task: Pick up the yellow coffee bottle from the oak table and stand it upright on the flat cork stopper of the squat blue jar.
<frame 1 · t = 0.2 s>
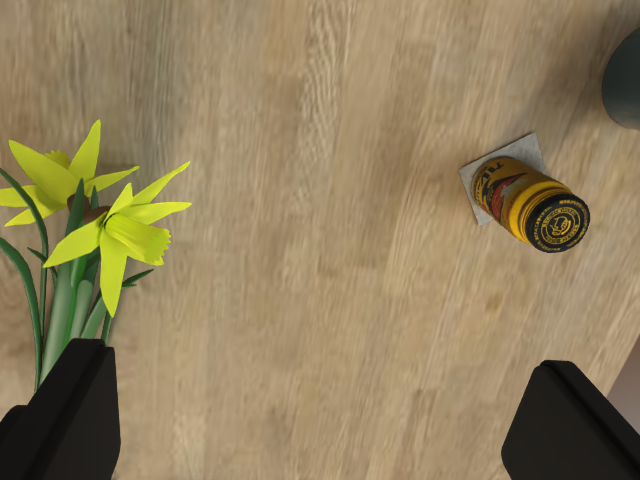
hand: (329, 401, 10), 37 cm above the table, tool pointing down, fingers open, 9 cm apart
yellow coffee bottle: (504, 180, 48), on the table
daffodil flowers: (109, 261, 48), on the table
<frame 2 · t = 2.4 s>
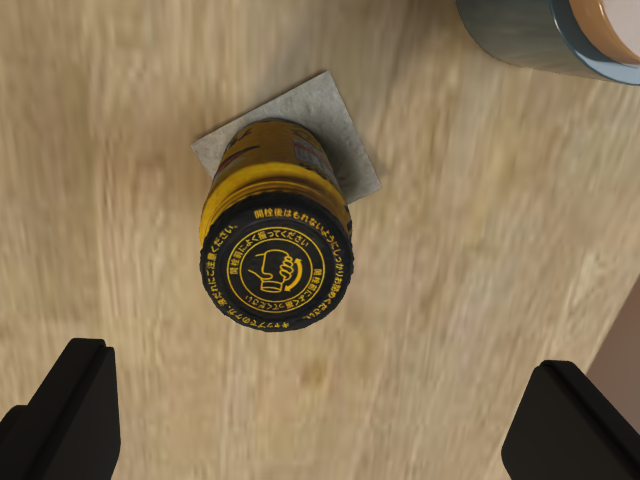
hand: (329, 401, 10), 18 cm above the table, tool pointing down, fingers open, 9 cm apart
yellow coffee bottle: (289, 164, 26), on the table
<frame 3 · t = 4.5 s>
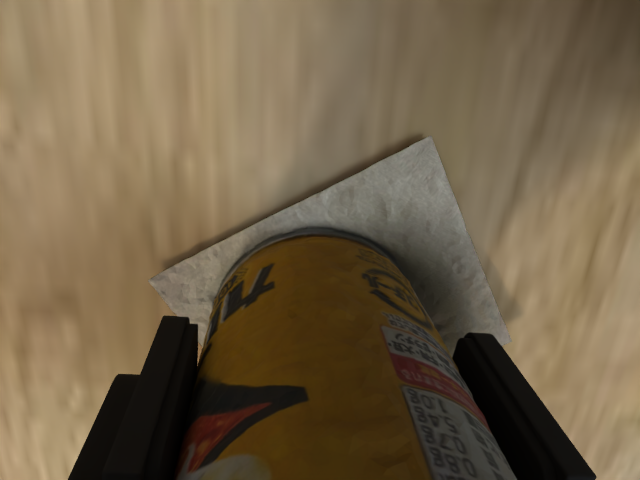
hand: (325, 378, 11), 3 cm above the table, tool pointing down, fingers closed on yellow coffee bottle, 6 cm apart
yellow coffee bottle: (340, 304, 14), on the table, touching gripper
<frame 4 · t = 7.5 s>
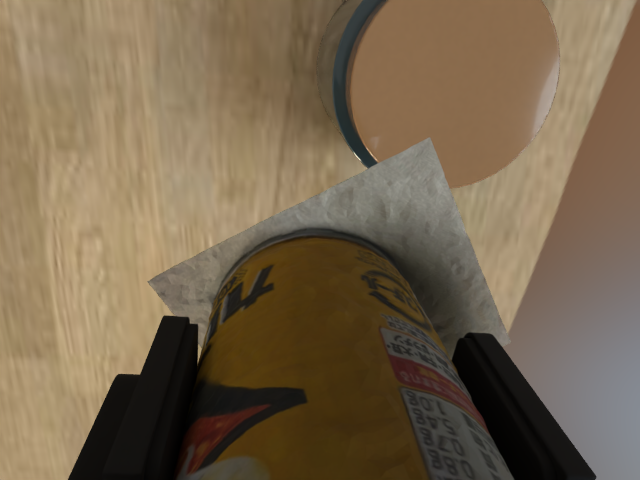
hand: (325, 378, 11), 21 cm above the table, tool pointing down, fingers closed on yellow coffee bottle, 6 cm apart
blue jar: (398, 70, 28), on the table
yellow coffee bottle: (340, 305, 14), point 18 cm above the table, touching gripper
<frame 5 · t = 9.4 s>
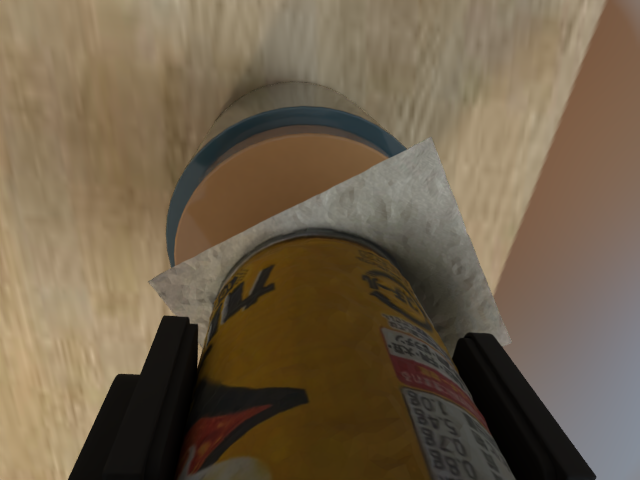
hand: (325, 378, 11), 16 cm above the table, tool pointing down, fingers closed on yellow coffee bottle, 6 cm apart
blue jar: (295, 180, 25), on the table
yellow coffee bottle: (340, 305, 14), point 12 cm above the table, touching gripper
when the fingers open (13 cm above the table, at t = 10.7 s): yellow coffee bottle stays where it is, resting on blue jar.
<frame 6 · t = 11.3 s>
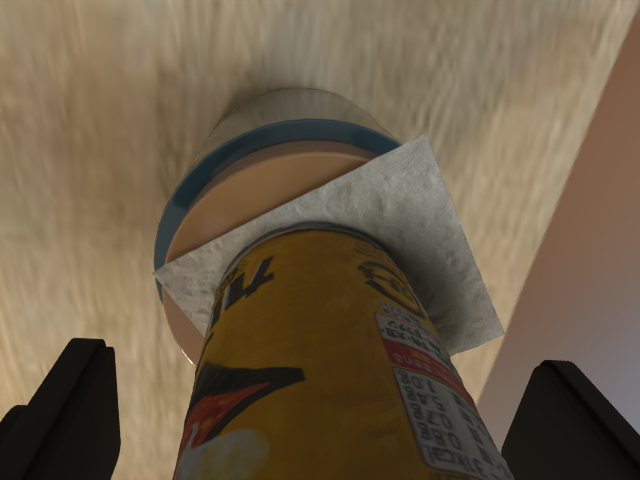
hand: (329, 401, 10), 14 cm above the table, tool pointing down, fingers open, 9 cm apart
blue jar: (299, 194, 23), on the table
yellow coffee bottle: (338, 297, 14), point 10 cm above the table, touching blue jar
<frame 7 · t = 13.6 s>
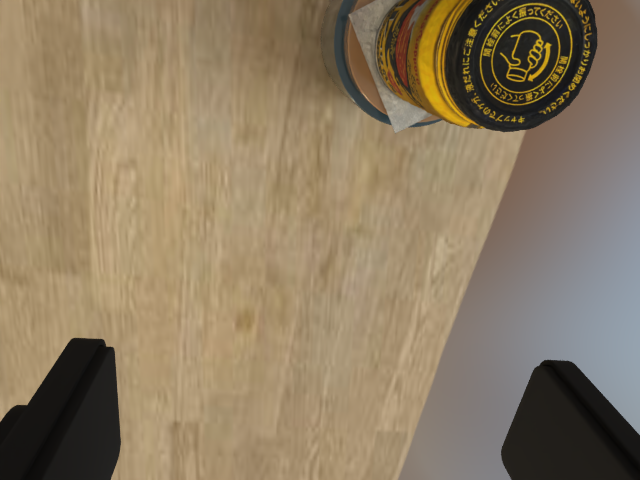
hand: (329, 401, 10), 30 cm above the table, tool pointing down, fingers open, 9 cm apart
blue jar: (386, 39, 35), on the table
yellow coffee bottle: (437, 43, 26), point 10 cm above the table, touching blue jar
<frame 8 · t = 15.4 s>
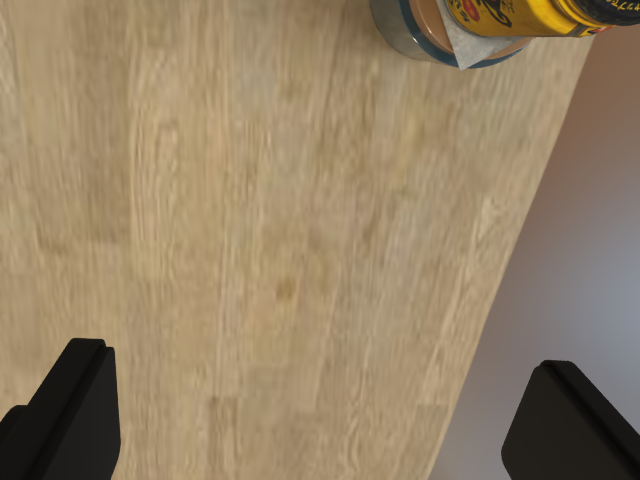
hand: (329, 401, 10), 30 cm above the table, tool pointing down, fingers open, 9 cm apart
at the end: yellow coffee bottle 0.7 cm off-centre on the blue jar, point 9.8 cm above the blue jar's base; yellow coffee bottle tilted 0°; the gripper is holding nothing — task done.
